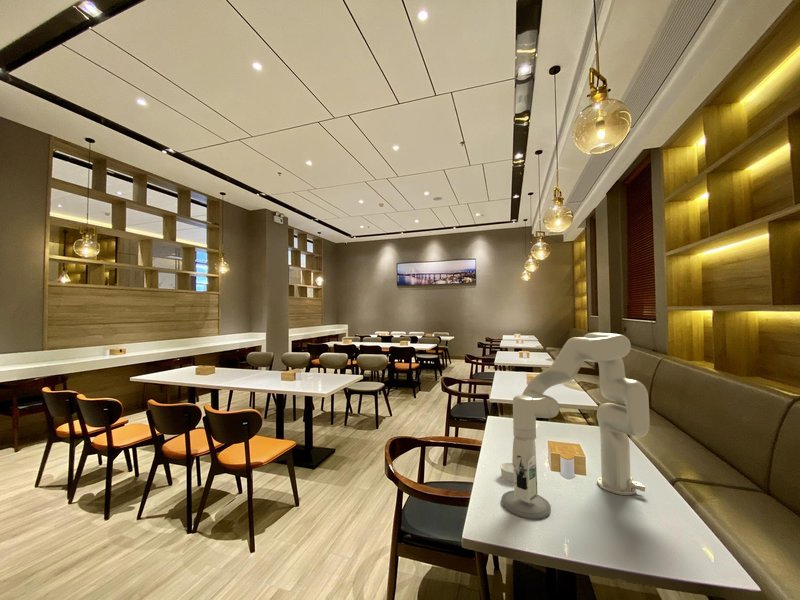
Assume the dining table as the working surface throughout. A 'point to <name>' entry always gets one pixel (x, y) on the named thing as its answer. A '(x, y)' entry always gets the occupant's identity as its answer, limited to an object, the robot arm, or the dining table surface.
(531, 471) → the syrup box
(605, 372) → the robot arm
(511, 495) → the grey plate
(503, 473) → the ramekin
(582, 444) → the dining table surface
